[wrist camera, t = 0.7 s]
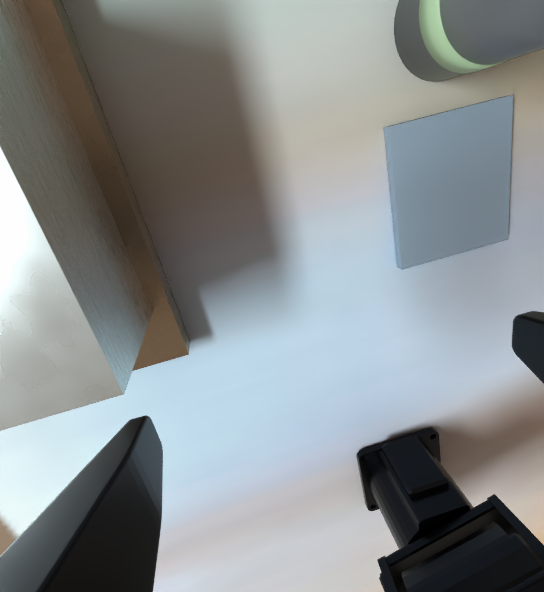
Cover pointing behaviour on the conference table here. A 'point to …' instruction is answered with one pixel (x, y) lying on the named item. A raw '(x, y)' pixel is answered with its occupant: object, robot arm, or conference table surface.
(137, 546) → the robot arm
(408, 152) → the slate mat
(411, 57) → the cartridge
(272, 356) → the conference table surface
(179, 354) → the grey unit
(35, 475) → the conference table surface
